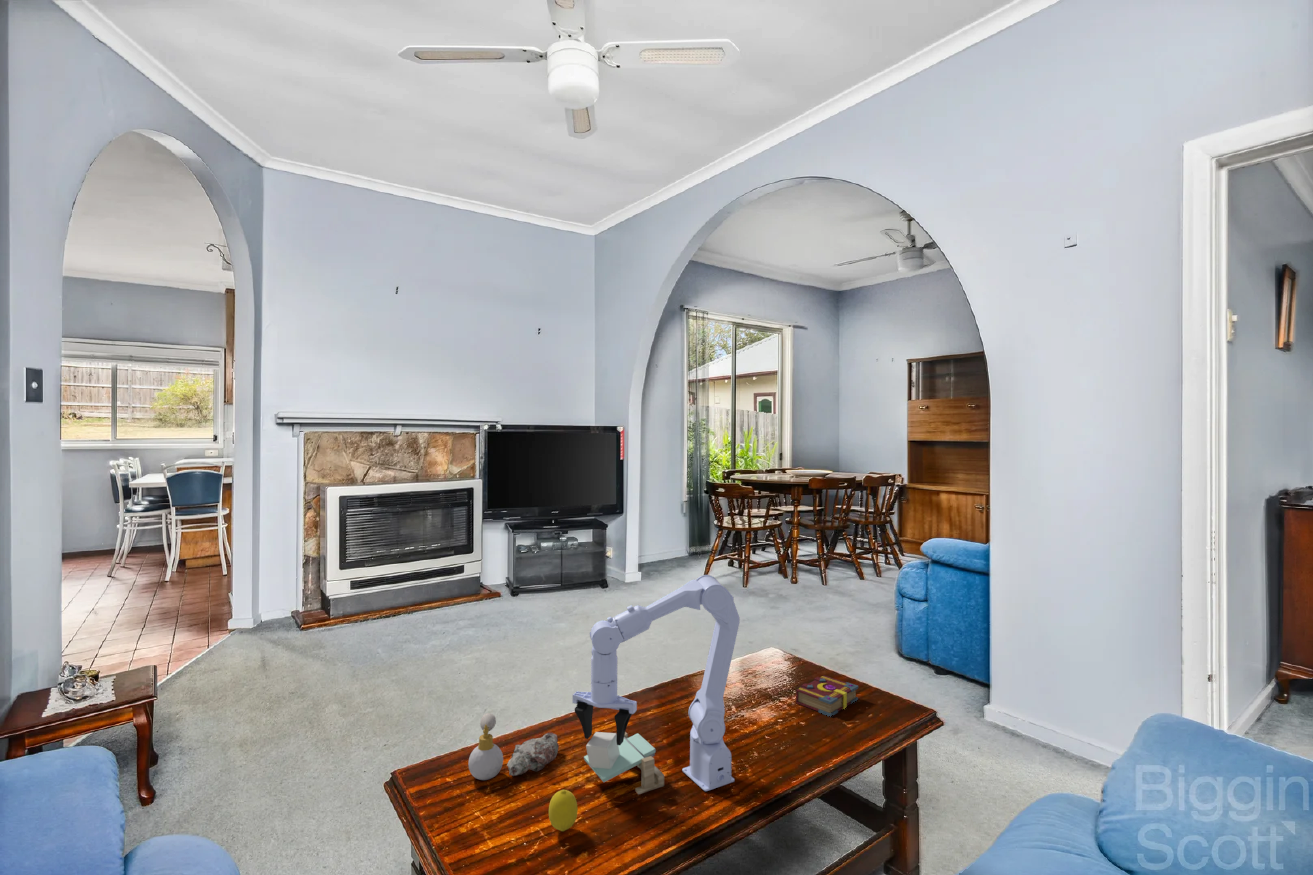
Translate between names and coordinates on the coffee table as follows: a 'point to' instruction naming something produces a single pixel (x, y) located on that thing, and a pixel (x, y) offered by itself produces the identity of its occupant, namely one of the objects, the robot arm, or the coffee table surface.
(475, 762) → the perfume bottle
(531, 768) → the mineral rock
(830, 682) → the decorative book
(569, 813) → the lemon
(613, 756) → the white cube
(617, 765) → the trapdoor
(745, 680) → the coffee table surface
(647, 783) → the frame
